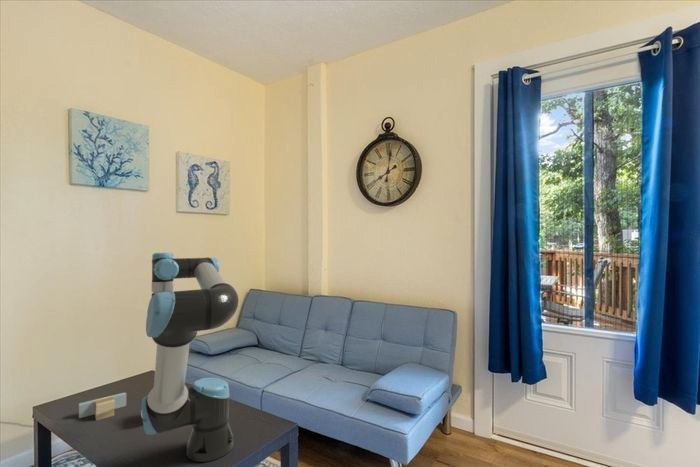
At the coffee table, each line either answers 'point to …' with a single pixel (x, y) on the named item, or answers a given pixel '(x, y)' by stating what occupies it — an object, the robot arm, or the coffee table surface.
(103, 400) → the block
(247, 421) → the coffee table surface
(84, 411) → the board
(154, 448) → the coffee table surface
